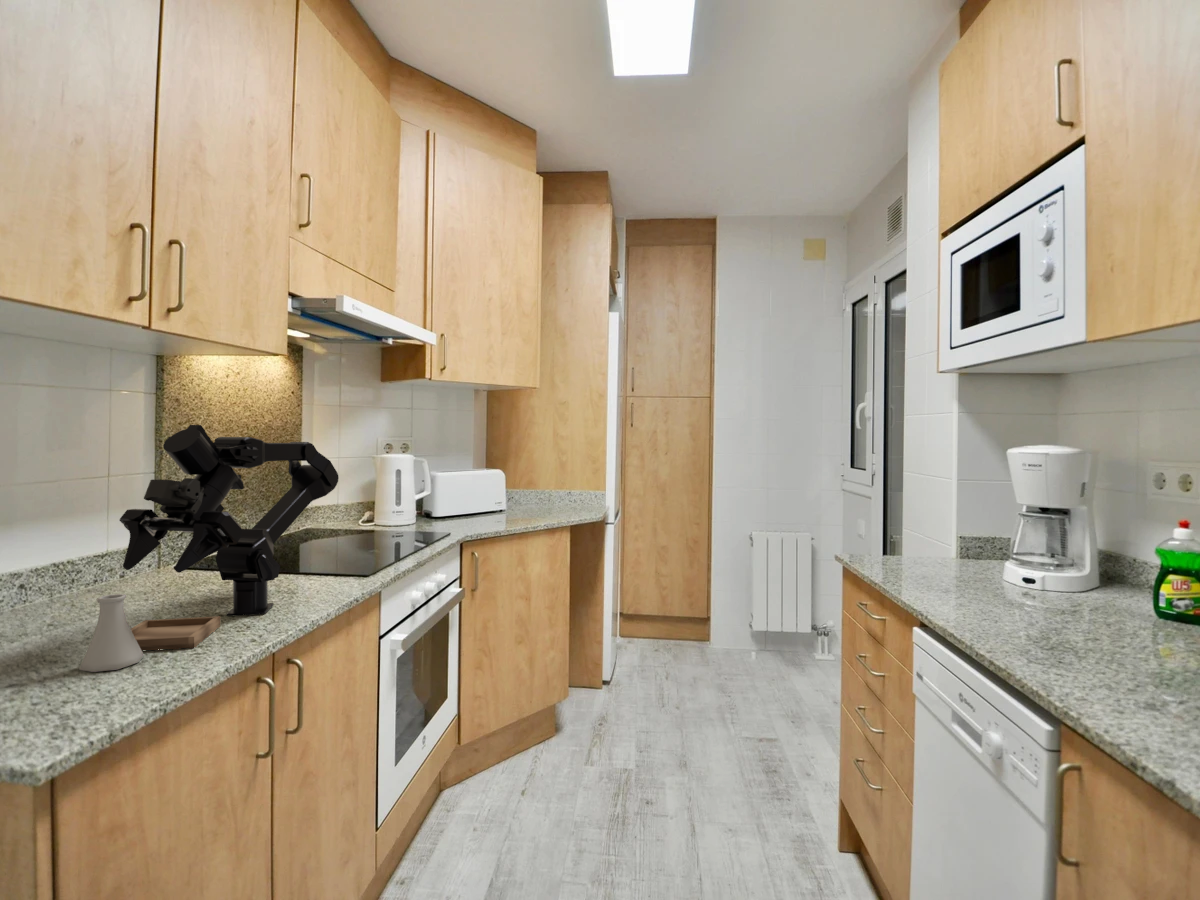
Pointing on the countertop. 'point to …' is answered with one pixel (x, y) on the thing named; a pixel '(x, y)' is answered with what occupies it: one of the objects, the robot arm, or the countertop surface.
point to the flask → (111, 638)
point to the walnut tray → (174, 632)
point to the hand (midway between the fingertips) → (150, 569)
